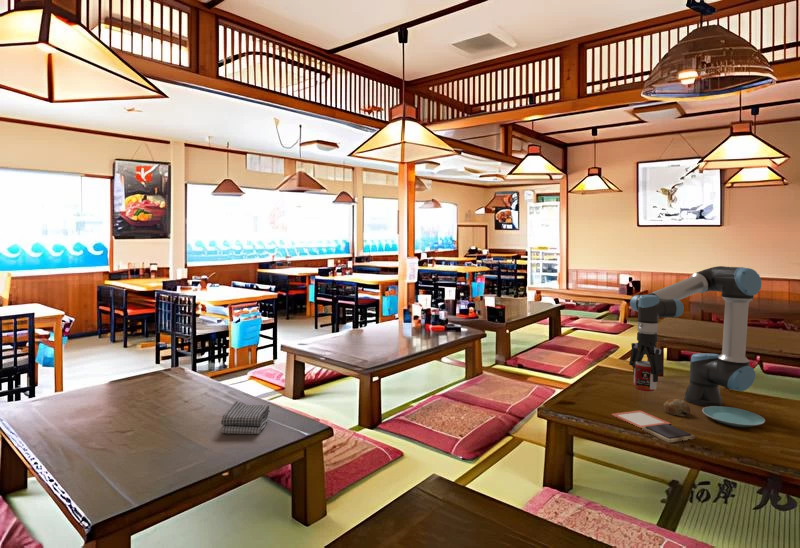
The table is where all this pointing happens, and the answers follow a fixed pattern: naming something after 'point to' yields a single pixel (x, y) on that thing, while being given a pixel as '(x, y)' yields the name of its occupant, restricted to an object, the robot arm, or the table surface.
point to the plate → (733, 416)
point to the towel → (245, 419)
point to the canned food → (643, 375)
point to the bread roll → (676, 407)
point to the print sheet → (639, 418)
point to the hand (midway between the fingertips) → (644, 386)
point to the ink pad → (668, 433)
